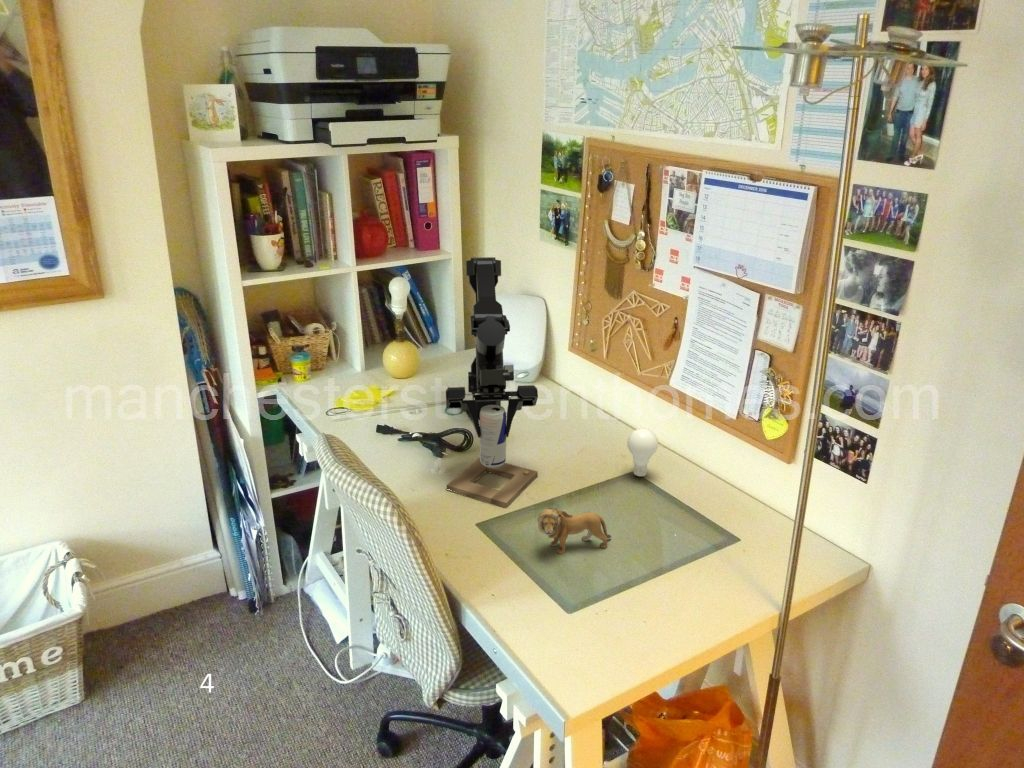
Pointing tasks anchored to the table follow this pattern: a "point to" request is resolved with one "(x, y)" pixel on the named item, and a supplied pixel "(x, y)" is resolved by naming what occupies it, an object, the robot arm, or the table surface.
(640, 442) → the lightbulb
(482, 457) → the energy drink
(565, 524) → the lion figurine
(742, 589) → the table surface
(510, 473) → the pocket plate
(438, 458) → the table surface
